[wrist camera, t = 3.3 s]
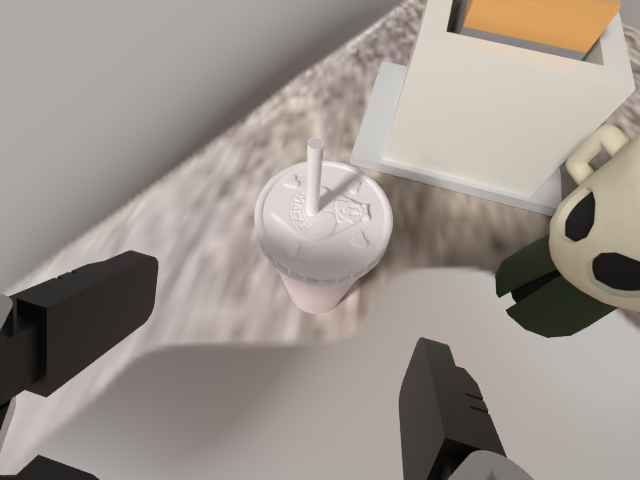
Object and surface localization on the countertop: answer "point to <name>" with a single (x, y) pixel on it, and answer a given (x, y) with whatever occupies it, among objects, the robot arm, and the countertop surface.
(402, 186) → the countertop surface
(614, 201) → the character mug
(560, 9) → the orange block
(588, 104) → the white open box
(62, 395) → the countertop surface
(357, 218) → the smoothie
